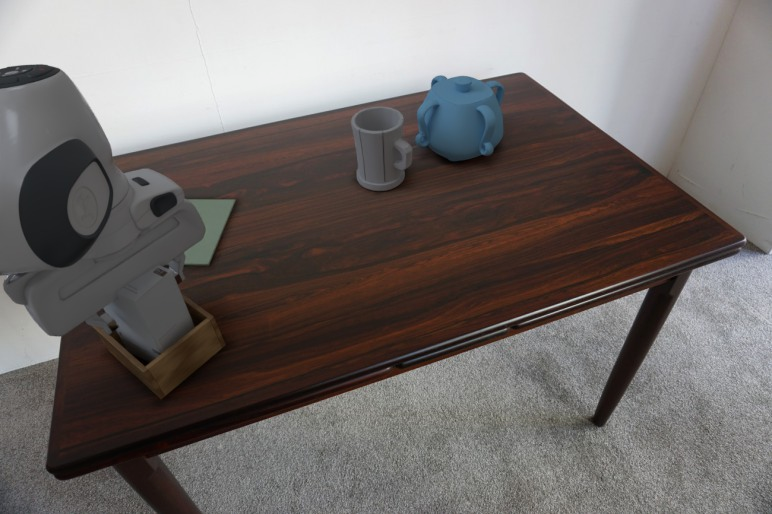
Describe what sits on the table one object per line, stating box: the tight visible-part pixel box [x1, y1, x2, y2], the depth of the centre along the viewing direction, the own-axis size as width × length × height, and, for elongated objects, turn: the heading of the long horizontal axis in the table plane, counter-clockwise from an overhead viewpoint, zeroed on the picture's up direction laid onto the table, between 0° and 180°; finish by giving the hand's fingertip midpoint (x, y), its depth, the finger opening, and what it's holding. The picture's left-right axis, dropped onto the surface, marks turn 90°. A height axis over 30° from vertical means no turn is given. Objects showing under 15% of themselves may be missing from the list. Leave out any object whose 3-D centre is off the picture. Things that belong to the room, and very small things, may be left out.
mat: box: [165, 198, 237, 267], centre depth 87 cm, size 16×10×1 cm, turn 177°
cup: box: [350, 105, 413, 192], centre depth 91 cm, size 10×9×12 cm
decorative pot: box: [414, 74, 505, 162], centre depth 98 cm, size 16×16×14 cm
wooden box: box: [91, 292, 226, 400], centre depth 68 cm, size 10×12×6 cm
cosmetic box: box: [103, 265, 195, 364], centre depth 65 cm, size 8×6×15 cm
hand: (145, 303), depth 64 cm, fingers open, 8 cm apart
